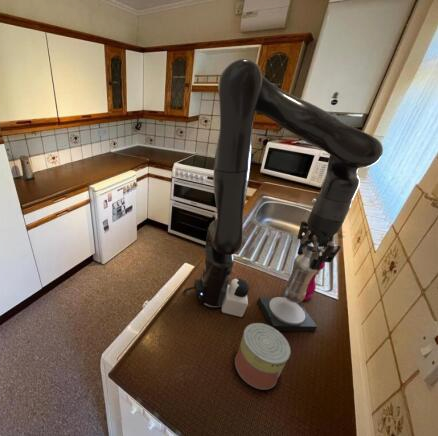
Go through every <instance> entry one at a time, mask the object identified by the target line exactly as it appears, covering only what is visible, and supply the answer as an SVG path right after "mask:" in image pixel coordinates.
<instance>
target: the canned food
mask: <svg viewBox="0 0 438 436" xmlns="http://www.w3.org/2000/svg"><path fill="white" fill-rule="evenodd" d="M291 350H292V349H291V346H290V344H289V341H288V339H287V338H286V337H285V336H284V334H283V333H281V331H278V330H276V329H275V328H273V327H271V326H269V324H268V323H262V322H252V323H250V324H248V325H247V326H246V327H245V328H244V329H243V334H242V337H241V340H240V343H239V347H238V350H237V353H236V355H235V357H234V365H235V370H236V371H237V374H238V375H239V377H240V378H241V379H242V380H243V381H244V382H245V383H246V384H247V385H249V386H251V387H253V388H254V389H257V390H262V391H263V390H264V391H265V390H266V391H267V390H270V389H272V388H274V387H275V386H276V384H277V381H278V379H279V377H280V376H281V373H282V372H283V369H284V368H285V366H286V364H287V362H288V360H289V359H290V357H291V354H292V353H291V352H292V351H291Z"/></svg>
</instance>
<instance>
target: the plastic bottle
mask: <svg viewBox="0 0 438 436" xmlns="http://www.w3.org/2000/svg"><path fill="white" fill-rule="evenodd" d="M313 246H314V245H309V246H306V247H305V249H304V250H303V254H300V255H297V256H296V257H295V258H294V259H293V264H292V268H291V269H292V270H291V271H290V272H291V273H290V275H289V277H288V280H287V281H286V283H285V284H284V285H283V287H282V295H283V298H286V299H287V300H288V301H290V302H292V303H302V302H303V301H305V300H304V298H305V295H306V290H307V287H308V284H309V282H310V280H311V278H312V277H313V276H314V274H315V273H316V272H317V270H312V269H311V268H310V265H311V263H312V261H313V259H314V258H315V251H314V250H313Z"/></svg>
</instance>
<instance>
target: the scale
mask: <svg viewBox="0 0 438 436" xmlns="http://www.w3.org/2000/svg"><path fill="white" fill-rule="evenodd" d="M257 303H258V306H259V307H260V309H261V312H262V314H263V315H264V317H265V320H266V322H267V325H269V326H271V327H273V328H275V329H276V330H278V331H279V332H315V331H316V329H317V328H318V325H317V324H316V323H315V321H314V320H313V319H312V317H311V315H310V314H309V313H308V311H307V310H306V309H305V307H304V305H303V304H302V302H300V303H292V302H290V301H288V300H287V299H286V298H285V297H284V296H283V297H282V296H277V297H273V296H272V297H270V296H269V297H263V296H260V297H258V299H257Z"/></svg>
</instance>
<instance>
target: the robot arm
mask: <svg viewBox="0 0 438 436" xmlns="http://www.w3.org/2000/svg"><path fill="white" fill-rule="evenodd" d="M217 90H218V91H217V92H218V99H219V101H218V102H219V134H218V138H217V142H216V149H215V155H214V162H213V179H212V182H213V183H212V184H213V185H212V186H213V193H214V200H215V207H216V218H215V219H214V220H212V221H211V222H210V223H209V226H208V227H207V232H206V239H205V246H204V247H205V248H204V253H205V254H204V255H205V258H204V263H203V264H204V265H203V269H202V273H201V274H200V276H199V277H200V278H199V279H198V278H197V279H196V278H195V279H194V282H193V286H191V287H187V288H185V290H183V291H182V293H183V294H186V293H187V292H188V291H191V290H194V293H195V296H196V297H198V299H199V303H200V305H201V306H205V307H206V308H209V309H214V310H215V309H220V308H222V303H223V300H224V297H225V294H226V291H227V288H228V285H230V281H231V280H230V279H231V275H232V270H233V267H234V263H235V257H234V255H235V254H236V253H237V252H238V251H239V250H240V249H241V247H242V245H243V242H244V214H245V213H244V212H245V207H246V199H247V194H248V192H247V191H248V185H249V179H250V172H251V165H252V164H251V163H252V150H253V149H252V146H253V144H252V143H253V142H252V141H253V138H252V137H253V125H254V119H255V115H256V112H257V113H259V114H261V115H263V116H264V117H266V118H267V119H270V120H271V121H273V122H274V123H276V124H277V125H279V126H280V127H281V128H282V129H284V130H286V131H287V132H289V133H290V134H292V135H293V136H295V137H297V138H298V139H299V140H302V141H303V142H305V143H307V144H309V145H311V146H313V147H315V148H317V149H319V150H322V151H324V152H325V153H327V154H328V155H329V156H328V162H327V168H326V175H325V179H324V181H323V184H322V186H321V188H320V191H319V193H318V195H317V197H316V198H315V201H314V203H313V206H312V208H311V211H310V213H309V216H308V218H307V220H302V221H301V222H300V226H299V229H298V234H297V239H298V240H299V244H300V245H299V247H298V250H297V256H299V255H300V254H303V250H304V249H305V247H306V246H310V244H312V246H313V250H314V251H315V258H314V259H313V261H312V263H311V265H310V268H311V269H312V270H318V269H320V267H321V265H322V263H323V262H325V263H328V264H329V263H332V262H333V260H334V259H335V257H336V256H337V254H338V252H340V250H341V245H339V244H336V243H335V242H333V241H334V236H335V235H336V234H337V233H339V232H340V230H341V228H342V226H343V224H344V222H345V220H346V217H347V216H348V213H349V212H350V209H351V206H352V202H353V201H354V198H355V196H356V194H357V191H358V190H359V187H360V183H361V180H360V178H359V176H358V170H359V169H365V168H368V167H371V166H372V165H375V164H376V163H378V161H380V159H381V157H382V156H383V151H384V147H383V145H382V143H381V141H380V140H379V139H378V138H377V137H375V136H372V135H371V134H369V133H367V132H365V131H363V130H361V129H359V128H356V127H353V126H351V125H349V124H347V123H345V122H344V121H342V120H341V119H340V118H338V117H336V116H335V115H333V114H331V113H329V112H328V111H326V110H324V109H323V108H320V107H318V106H317V105H315V104H313V103H311V102H308V101H307V100H304V99H301V98H299V97H297V96H295V95H293V94H290V93H289V92H286V91H285V90H283V89H281V88H279V87H278V86H276V85H274V83H272V82H270V81H269V80H268V79H267V78H266V77H264V75H263V73H262V70H261V68H260V66H259V65H258V64H257V63H256V62H255V61H254V60H252V59H249V58H240V59H237V60H234V61H233V62H231V63H229V64H228V65H227V66H226V67H225V68H224V69H223V71H222V72H221V74H220V76H219V79H218V84H217ZM320 254H321V256H319V255H320Z"/></svg>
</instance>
